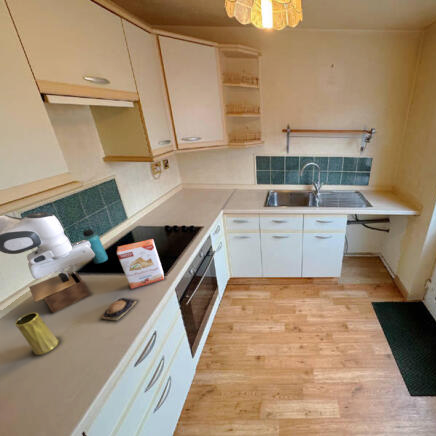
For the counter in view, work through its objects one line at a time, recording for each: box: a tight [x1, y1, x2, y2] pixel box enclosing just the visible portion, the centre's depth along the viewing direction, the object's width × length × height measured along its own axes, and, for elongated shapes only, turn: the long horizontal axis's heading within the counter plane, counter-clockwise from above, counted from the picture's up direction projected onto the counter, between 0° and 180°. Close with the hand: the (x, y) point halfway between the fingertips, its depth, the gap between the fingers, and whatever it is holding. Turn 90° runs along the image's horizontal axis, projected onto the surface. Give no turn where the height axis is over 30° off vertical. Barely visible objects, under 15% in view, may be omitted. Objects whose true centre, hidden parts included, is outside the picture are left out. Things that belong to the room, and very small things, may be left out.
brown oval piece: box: [101, 297, 137, 322], centre depth 95 cm, size 11×8×4 cm
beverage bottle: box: [82, 229, 109, 264], centre depth 121 cm, size 6×7×20 cm
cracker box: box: [116, 238, 165, 290], centre depth 107 cm, size 14×6×21 cm, turn 119°
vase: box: [14, 312, 59, 356], centre depth 78 cm, size 6×6×14 cm
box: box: [43, 270, 91, 314], centre depth 100 cm, size 13×13×8 cm
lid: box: [28, 270, 76, 303], centre depth 96 cm, size 13×13×3 cm
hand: (71, 274), depth 101 cm, fingers closed
